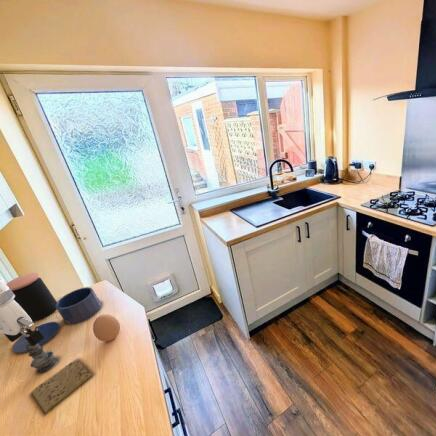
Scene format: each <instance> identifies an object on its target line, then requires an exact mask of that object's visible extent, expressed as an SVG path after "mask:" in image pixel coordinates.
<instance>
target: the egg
mask: <svg viewBox="0 0 436 436" xmlns="http://www.w3.org/2000/svg"><path fill="white" fill-rule="evenodd" d="M92 324H93V325H92V332H93V335H94V337H95V339H97V340H99V341H101V342H109V341H113V340H114V339H116V337H117V336H119V334H120V331H121V324H120V321H119V320H118V319H117V318H116V317H115V316H113V315H111V314H108V313H107V314H105V313H103V314H100V315H99V316H97V317H95V319H94V321H93V323H92Z"/></svg>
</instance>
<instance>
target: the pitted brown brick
mask: <svg viewBox="0 0 436 436" xmlns="http://www.w3.org/2000/svg"><path fill="white" fill-rule="evenodd" d="M91 377H92V373H91V372H90V371H88V370H87V369H86V368H85V366H83V364H81V363H80V361H79V360H78V359H75V360H73V361H71V362H70V363H68V364H67V365H65V366H64V367H63V368H62V369H61V370H59V371H58V372H56V374H54V375H53V376H51V377H49V378H48V379H47V380H45V381H44V382H42V383H41V384H39V385H38V387H36V388H35V389H34V390H32V391H31V394H32V396H33V397H34V399H35V400H36V402H37V404H38V405H39V407H40V408H41V410H42V411H43V413H45V414H46V413H48V412H49V411H50V410H51V409H53V408H54V407H55V406H56V405H57V404H59V402H61V401H63V400H64V399H65V398H66V397H68V396H69V395H70V394H71V393H72V392H74V391H75V390H76V389H77V388H78V387H79V386H81V385H82V384H83V383H84V382H86V381H87V380H89V379H91Z"/></svg>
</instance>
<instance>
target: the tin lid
mask: <svg viewBox="0 0 436 436" xmlns="http://www.w3.org/2000/svg"><path fill="white" fill-rule="evenodd" d="M60 326H61V325H60V324H59V322H57V321H50V322H45V323H42V324H40V325H38V326H36V327H37V328H38V330H39V331H40V333H41V334H42V335H43V337H44V339H42V340H41V341H40V342H39V343H38V344H39V345H40V346H43V345H44V344H45V343H47V342H49V341H50V340H51V339H52V338H53V337H54V336H56V334H57V333H58V332H59V330H60ZM27 330H28V328H26V329H25V332H27ZM25 337H26V336H24V335H22V336H21V337H19V338H18V339H17V340H15V341H14V344H13V345H12V351H13V352H14V353H15V354H24V353H28V352H27V350H26V349H25V347H26V345H27V344H28V341H27V340H26V339H25Z"/></svg>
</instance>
